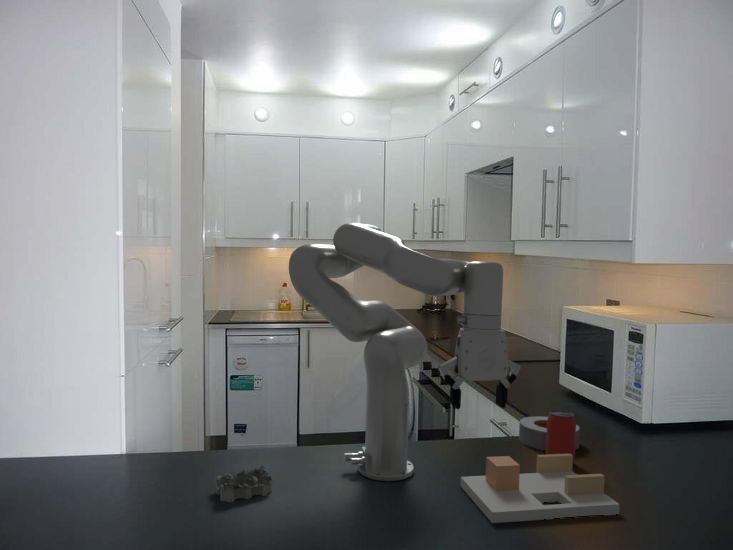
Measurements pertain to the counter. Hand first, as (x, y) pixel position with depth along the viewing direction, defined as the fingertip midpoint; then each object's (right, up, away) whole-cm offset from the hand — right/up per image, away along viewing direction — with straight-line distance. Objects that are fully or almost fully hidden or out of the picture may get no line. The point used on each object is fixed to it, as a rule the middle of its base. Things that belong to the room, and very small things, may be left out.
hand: (478, 406), depth 109 cm
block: (+5, -16, +1) cm, 17 cm away
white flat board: (+12, -19, 0) cm, 22 cm away
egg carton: (-47, -17, -1) cm, 51 cm away
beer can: (+24, -19, +20) cm, 36 cm away
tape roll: (+26, -19, +35) cm, 47 cm away
